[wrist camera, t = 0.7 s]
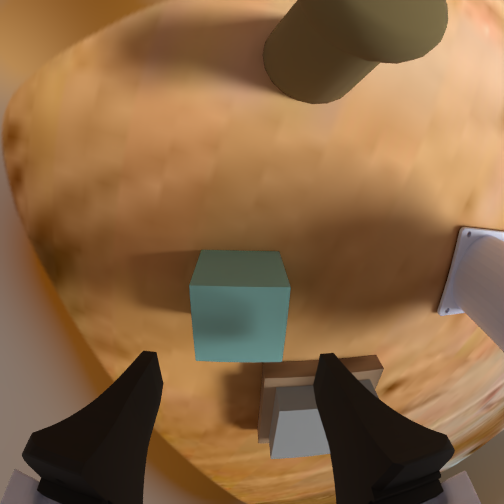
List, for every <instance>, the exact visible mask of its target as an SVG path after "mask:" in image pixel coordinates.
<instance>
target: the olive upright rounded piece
mask: <svg viewBox="0 0 504 504" xmlns="http://www.w3.org/2000/svg"><path fill="white" fill-rule="evenodd" d="M447 23H448V8H447V3H446V0H297V2H296V3H295V4H294V5H293V6H292V8H291V9H290V10H289V11H288V13H287V14H286V15H285V16H284V18H283V19H282V20H281V21H280V23H279V24H278V25H277V26H276V28H275V29H274V30H273V32H272V33H271V35H270V36H269V38H268V39H267V41H266V42H265V47H264V52H263V59H264V65H265V69H266V71H267V73H268V75H269V77H270V79H271V81H272V82H273V83H274V84H275V85H276V86H277V87H278V88H279V89H280V90H281V91H282V92H283V93H285V94H287V95H289V96H290V97H292V98H294V99H296V100H298V101H302V102H307V103H311V104H322V103H329V102H332V101H335V100H338V99H340V98H341V97H343V96H344V95H345V94H346V93H347V92H349V91H350V90H351V89H352V88H353V87H354V86H355V85H356V84H357V83H359V82H360V81H361V80H362V79H363V78H364V77H365V76H366V75H367V74H368V73H370V72H371V71H372V70H373V69H374V68H375V67H376V66H377V65H378V64H379V63H381V62H382V63H396V64H397V63H401V62H405V61H410V60H414V59H417V58H420V57H423V56H424V55H425V54H427V53H428V52H429V51H431V50H432V49H433V48H434V47H435V46H436V45H437V44H438V43H440V42H441V40H442V38H443V35H444V33H445V30H446V28H447Z"/></svg>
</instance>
